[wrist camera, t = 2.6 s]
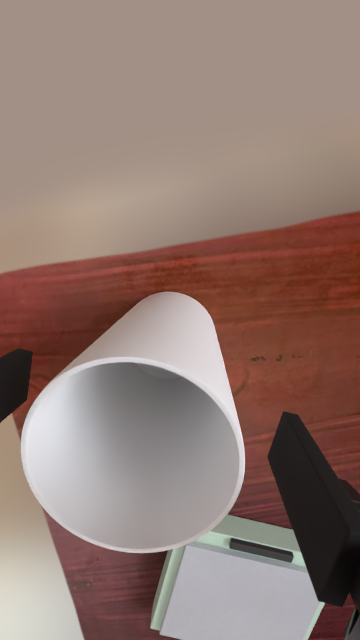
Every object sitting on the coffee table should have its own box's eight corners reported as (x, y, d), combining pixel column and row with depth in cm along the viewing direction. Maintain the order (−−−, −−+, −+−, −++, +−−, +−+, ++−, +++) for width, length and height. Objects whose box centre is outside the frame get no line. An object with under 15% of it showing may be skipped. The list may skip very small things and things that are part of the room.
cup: (118, 294, 25) (-3, 361, 10) (213, 288, 25) (243, 349, 9) (128, 382, 27) (40, 554, 12) (217, 378, 27) (248, 554, 11)
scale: (153, 602, 33) (149, 635, 30) (180, 503, 30) (179, 530, 27) (290, 633, 33) (299, 670, 30) (332, 538, 30) (347, 569, 27)
